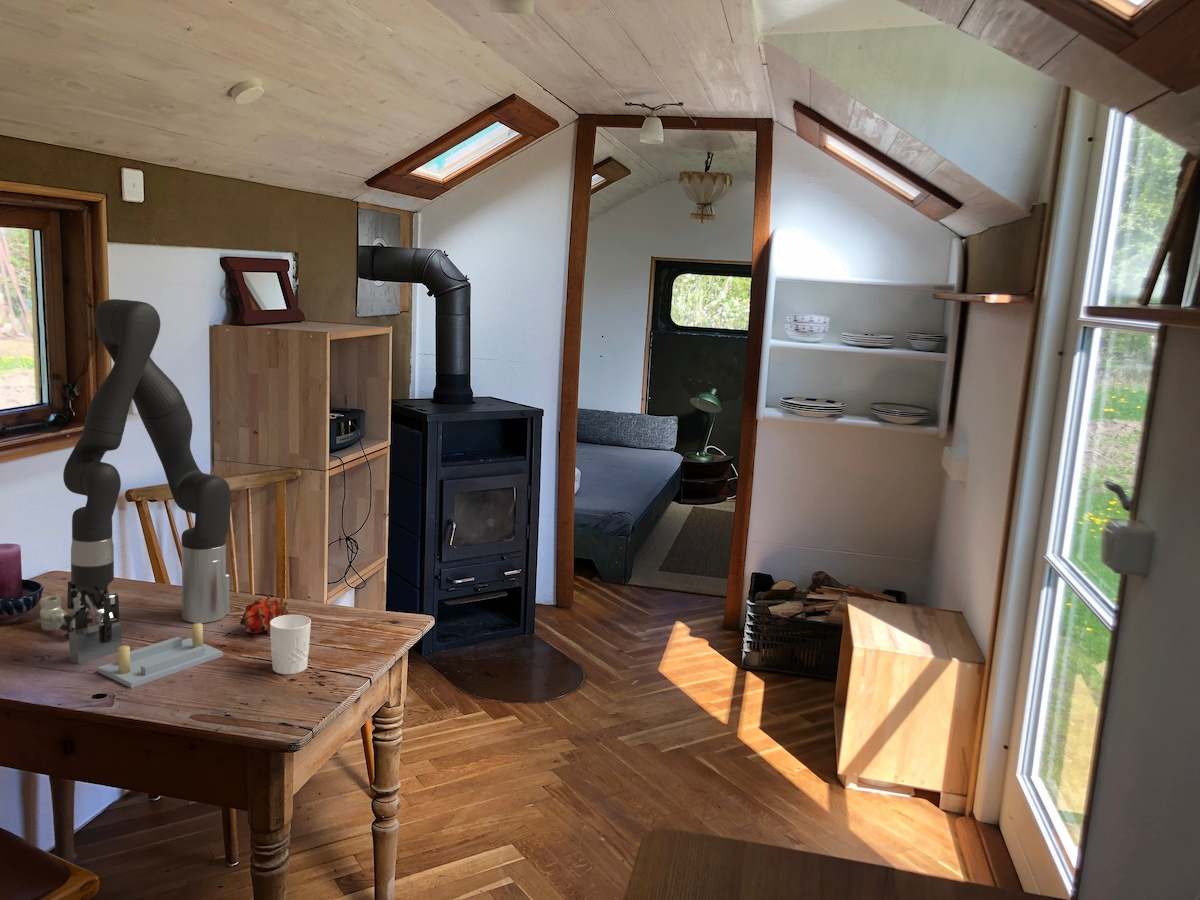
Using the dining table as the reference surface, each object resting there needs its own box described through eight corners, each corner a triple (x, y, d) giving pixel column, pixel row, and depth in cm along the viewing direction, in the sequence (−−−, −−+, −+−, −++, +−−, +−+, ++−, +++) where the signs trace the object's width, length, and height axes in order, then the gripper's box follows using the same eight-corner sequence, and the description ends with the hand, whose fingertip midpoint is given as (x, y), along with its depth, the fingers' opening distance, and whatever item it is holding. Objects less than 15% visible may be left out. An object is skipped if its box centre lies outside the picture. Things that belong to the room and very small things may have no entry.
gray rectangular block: (113, 647, 195) (112, 620, 193) (121, 651, 193) (121, 623, 192) (69, 660, 187) (68, 632, 186) (78, 665, 185) (77, 636, 184)
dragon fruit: (293, 631, 213) (245, 652, 205) (273, 603, 216) (225, 623, 207) (302, 610, 208) (253, 631, 199) (282, 581, 211) (233, 600, 202)
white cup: (268, 662, 193) (268, 616, 191) (307, 658, 196) (308, 613, 194) (270, 677, 186) (271, 630, 184) (312, 673, 189) (313, 627, 187)
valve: (30, 629, 200) (63, 644, 195) (29, 600, 199) (61, 614, 193) (61, 621, 206) (93, 634, 200) (60, 592, 205) (92, 605, 199)
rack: (189, 642, 200) (189, 615, 199) (223, 656, 194) (222, 628, 193) (98, 672, 183) (97, 643, 182) (131, 688, 177) (131, 658, 176)
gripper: (131, 563, 186) (131, 641, 188) (90, 548, 193) (91, 623, 196) (94, 571, 179) (95, 651, 182) (53, 555, 187) (54, 632, 189)
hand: (93, 636), depth 189 cm, fingers open, 8 cm apart
